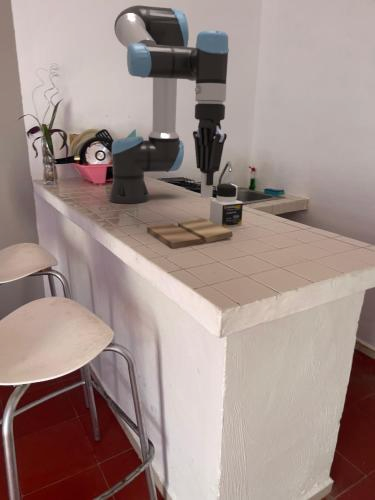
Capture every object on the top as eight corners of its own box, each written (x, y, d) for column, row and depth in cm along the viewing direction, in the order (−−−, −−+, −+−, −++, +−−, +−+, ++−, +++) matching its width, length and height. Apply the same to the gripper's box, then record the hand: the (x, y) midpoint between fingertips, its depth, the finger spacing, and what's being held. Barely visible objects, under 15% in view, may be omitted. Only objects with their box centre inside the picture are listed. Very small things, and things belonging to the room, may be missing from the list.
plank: (177, 227, 108) (177, 222, 107) (201, 222, 111) (201, 217, 111) (206, 243, 95) (206, 237, 94) (232, 236, 98) (232, 231, 97)
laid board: (147, 232, 104) (147, 226, 103) (176, 228, 108) (176, 223, 107) (172, 248, 90) (172, 242, 90) (204, 243, 94) (204, 238, 94)
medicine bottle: (221, 228, 109) (223, 186, 105) (209, 222, 115) (210, 183, 111) (241, 225, 112) (244, 185, 108) (228, 219, 118) (230, 181, 114)
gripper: (184, 102, 96) (183, 193, 104) (211, 102, 85) (207, 203, 93) (209, 103, 99) (206, 191, 108) (237, 103, 89) (231, 200, 97)
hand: (206, 196), depth 100 cm, fingers closed
